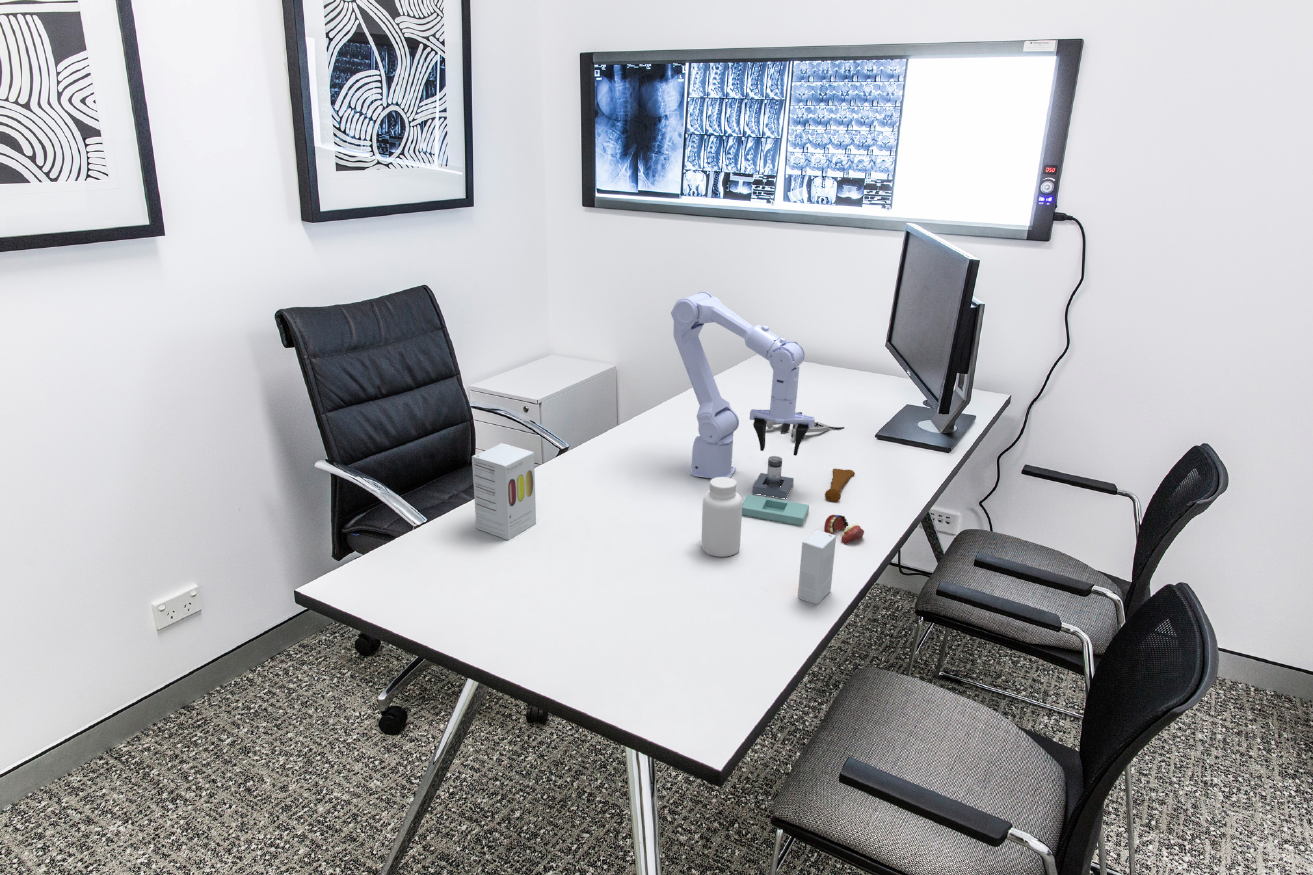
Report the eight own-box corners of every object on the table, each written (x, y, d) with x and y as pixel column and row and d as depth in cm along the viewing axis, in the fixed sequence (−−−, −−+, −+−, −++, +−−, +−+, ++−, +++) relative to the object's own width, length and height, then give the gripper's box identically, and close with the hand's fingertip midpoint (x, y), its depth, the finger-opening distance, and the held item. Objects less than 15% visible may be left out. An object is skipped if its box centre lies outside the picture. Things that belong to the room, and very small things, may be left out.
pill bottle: (698, 539, 177) (701, 473, 171) (736, 538, 178) (740, 473, 172) (703, 558, 170) (706, 491, 164) (742, 557, 170) (747, 490, 165)
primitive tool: (833, 469, 212) (834, 457, 210) (855, 473, 210) (857, 460, 209) (823, 502, 195) (824, 489, 193) (847, 506, 193) (849, 493, 192)
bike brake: (798, 443, 224) (842, 436, 238) (802, 418, 222) (847, 412, 236) (759, 429, 234) (804, 423, 247) (763, 405, 232) (808, 400, 245)
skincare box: (810, 583, 162) (816, 528, 157) (831, 591, 160) (837, 535, 155) (796, 598, 157) (801, 541, 153) (817, 605, 155) (823, 548, 150)
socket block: (752, 493, 197) (752, 486, 196) (760, 480, 204) (760, 472, 203) (786, 499, 195) (786, 492, 194) (793, 485, 202) (793, 478, 201)
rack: (739, 515, 187) (740, 507, 186) (747, 502, 193) (747, 494, 192) (802, 526, 183) (803, 518, 182) (808, 512, 189) (809, 504, 188)
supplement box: (508, 541, 175) (504, 466, 168) (474, 529, 179) (469, 456, 173) (537, 523, 182) (535, 451, 176) (505, 511, 187) (501, 441, 180)
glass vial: (764, 491, 199) (766, 460, 195) (767, 486, 201) (770, 455, 198) (778, 493, 198) (780, 462, 194) (781, 488, 200) (783, 457, 197)
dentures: (851, 529, 174) (822, 514, 180) (848, 547, 175) (820, 532, 181) (869, 523, 177) (840, 509, 183) (866, 541, 178) (838, 526, 184)
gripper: (748, 398, 189) (744, 453, 194) (814, 406, 185) (808, 462, 190) (754, 388, 195) (750, 442, 200) (817, 395, 191) (812, 450, 197)
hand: (778, 451), depth 196 cm, fingers open, 7 cm apart
